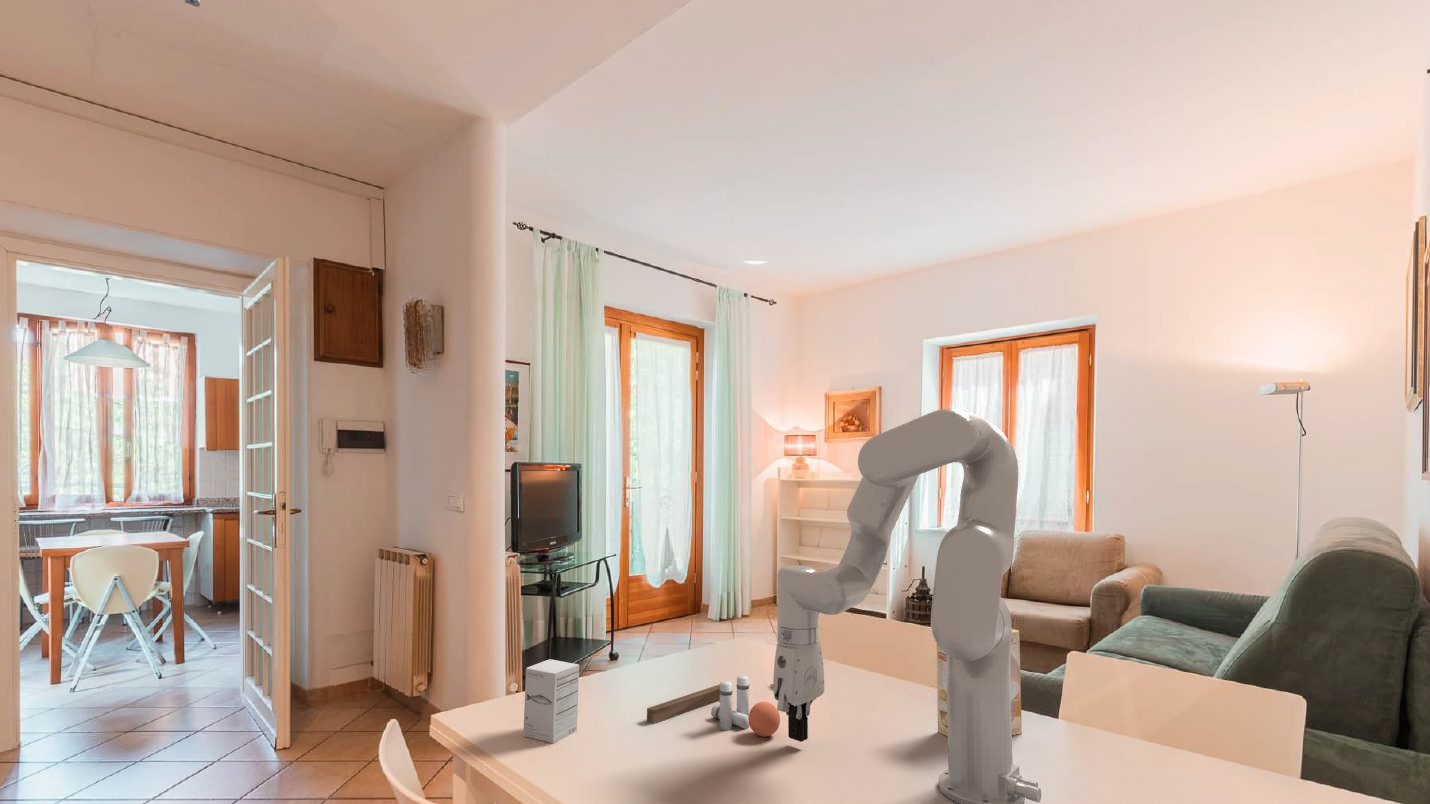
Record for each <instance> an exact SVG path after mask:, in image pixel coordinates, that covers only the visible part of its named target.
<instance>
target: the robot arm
mask: <svg viewBox="0 0 1430 804" xmlns="http://www.w3.org/2000/svg"><path fill="white" fill-rule="evenodd" d="M1017 458H1018V457H1017V455H1016V452H1015V449H1014V447H1013V445H1012V443H1011V441H1010V440H1009V439H1008V436H1006V434H1005V433H1003V432H1002V430H1001V429H1000V428H998V427H997V426H996V425H994V424H993V423H991V422H990V421H988V420H987V419H985V418H983V417H981V416H979V415H978V414H975V413H972V412H969V411H964V410H961V409H956V408H941V409H937V410H933V411H931V412H929V413H927V414H923V415H922V416H919V417H917V418H915V419H912V420H910V421H907V422H904V423H903V424H900V425H898V426H896V427H893V428H891V429H888V430H886V431H883V432H881V433H878V434H876V435H874V436H872V437H871V438H869V439H868V440H866V442H865V443H863V444H862V446H861V448H860V450H859V453H858V457H857V467H858V469H859V472H860V474H861V476H862V477H861V479H860V482H859V484H858V486H857V488H856V490H855V492H854V493H853V496H852V499H851V501H850V503H849V504H848V507H847V510H846V516H847V519H848V522H849V524H850V537H849V541H848V544H847V547H846V548H845V551H844V553H843V555H842V557H841V559H840V561H839V563H838V566H837V567H834V568H830V569H827V570H823V571H817V569H815V568H814V567H811V566H806V565H786V566H782V567H781V568H779V570H778V572H777V579H776V580H777V581H776V583H777V585H776V586H777V589H776V590H777V591H776V592H777V593H776V594H777V596H776V598H777V599H776V601H777V604H776V605H777V607H776V608H777V616H776V617H777V622H776V623H777V627H776V628H777V629H776V630H777V632H776V633H777V634H776V635H777V638H776V639H777V640H776V642H777V644H776V650H775V656H774V665H773V681H772V682H773V685H772V686H773V687H772V688H773V696H774V697H773V698H774V699H775V701H777V706H776V708H777V710H778V712H782V713H785V714H786V716H787V717H788V718H787V719H788V720H787V721H788V723H787V725H788V726H787V727H788V730H787V731H788V738H789V739H791V740H794V741H798V742H799V743H800V742H804V741H807V740H808V738H809V735H808V734H809V731H808V730H809V728H808V726H809V723H808V722H809V721H808V719H809V718H808V716H810V713H811V705H812V703H813V702H815V700H817V698H820V697H821V696H822V695H823V694H824V692H825V669H824V667H825V666H824V658H823V650H822V646H821V642H820V640H819V613H820V614H823V615H826V616H827V615H828V616H834V615H840V614H841V613H844V612H846V611H847V610H849V609H851V608H854V607H856V606H858V605H861V603H863V602H864V600H866V598H867V597H868V595H869V594H870V592H871V590H872V588H873V586H874V585H875V583H876V581H877V579H878V576H879V574H880V571H881V570H882V568H883V566H884V563H885V561H886V557H887V553H888V550H889V546H890V543H891V537H892V533H893V531H894V528H895V526H896V524H897V522H898V520H899V518H900V515H901V514H902V512H903V510H904V507H905V505H906V503H907V501H908V499H909V497H910V495H911V492H912V490H913V488H914V487H915V484H916V482H917V480H918V478H919V476H920V475H922V474H924V473H928V472H930V471H932V470H936V469H937V468H940V467H945V466H946V465H949V464H952V463H959V464H960V465H961V467H962V469H963V478H962V479H963V480H962V483H961V487H960V488H961V490H960V496H959V497H960V499H959V510H958V518H957V523H956V525H955V526H954V527H953V528H951V529H950V530H948V531H947V532H946V534H945V535H944V536H943V537H942V539H941V541H940V544H939V547H938V551H937V555H936V562H935V563H936V564H935V571H934V581H933V592H932V600H931V601H932V602H931V610H930V628H931V632H932V636H933V638H934V641H935V643H936V645H937V644H938V645H939V647H940V648H941V649H942V650H943V651H944V652H945V653H946V654H947V724H948V737H947V761H948V763H947V764H948V765H947V766H948V769H947V770H945V771H943V772H941V774H939V776H938V788H939V790H940V791H941V792H942V794H943V795H944V796H945V797H947V798H949V799H950V800H952V801H954V802H956V803H959V804H1024V802H1025V799H1026V800H1028V801H1032V802H1034V803H1035V802H1036V803H1037V804H1038V803H1041V799H1042V790H1041V788H1039V784H1038V782H1037V781H1034V780H1031V779H1027V778H1023V776H1022V775H1020V765H1016V764H1013V761H1014V760H1013V736H1012V725H1011V678H1010V657H1011V633H1012V629H1013V628H1012V616H1011V613H1010V609H1009V607H1008V605H1007V604H1006V602H1005V600H1004V598H1002V597H1001V594H1002V584H1003V578H1004V575H1005V573H1006V572H1007V571H1008V570H1009V568H1010V567H1011V565H1012V563H1013V561H1014V545H1015V544H1014V543H1015V530H1016V519H1017V518H1016V517H1017V503H1018V502H1017V501H1018V489H1019V488H1018V487H1019V466H1018V459H1017Z"/></svg>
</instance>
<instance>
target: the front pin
mask: <svg viewBox="0 0 1430 804" xmlns="http://www.w3.org/2000/svg"><path fill="white" fill-rule="evenodd" d="M710 715H711V717H712V718H715V719H717V720H719V721H720V704H714V705H713V706H712V707H711V712H710ZM732 726H737V727H740V728H742V729H745V730H746V729H748V728H749V727H750V725H749V716H748V715H745V714H742V713H739V712H737V710H733V709H732Z"/></svg>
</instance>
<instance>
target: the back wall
mask: <svg viewBox="0 0 1430 804" xmlns="http://www.w3.org/2000/svg"><path fill="white" fill-rule="evenodd" d="M719 700H720V683H719V684H717V685H713V686H711V687H707V688H705V689H701V690H699V691H698V690H697V691H695V692H691V693H689V694H687V695H684V696H680V697H677V698H673V699H670V700H667V701H665V702H662V703H659V704H656V705H653V706H650V707H649V706H648V707H647V708H646V722H648V723H650V724H652V725H655V724H658V723H660V722H663V721H666V720H668V719H671V718H674V716H675V717H676V715H677V716H680V715H682V714H683V715H684V714H685V712H686V713H689V712H691V711H695V710H696V709H699V708H704V707H705V706H709V705H711V704H713V703H716V701H717V702H720V701H719ZM665 719H666V720H665ZM654 723H655V724H654Z"/></svg>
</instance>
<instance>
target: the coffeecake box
mask: <svg viewBox="0 0 1430 804" xmlns="http://www.w3.org/2000/svg"><path fill="white" fill-rule="evenodd" d="M1020 647H1021V645H1020V630H1018V629H1015V628H1012V633H1011V657H1010V678H1011V725H1012V735H1013V736H1018V735H1022V734H1023V730H1022V729H1023V726H1022V725H1023V724H1022V723H1023V721H1022V691H1021V690H1022V687H1021V686H1022V685H1021V683H1022V682H1021V652H1020V651H1021V650H1020V649H1021V648H1020ZM936 683H937V684H936V689H937V691H936V693H937V732H938V733H939V734H941V735H944V736H946V737H947V738H948V724H947V654H946V653H945V652H944V651H943V650H942V649H941V648H940V647H939V645H938V644H937V643H936ZM1016 734H1017V735H1016Z"/></svg>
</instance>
